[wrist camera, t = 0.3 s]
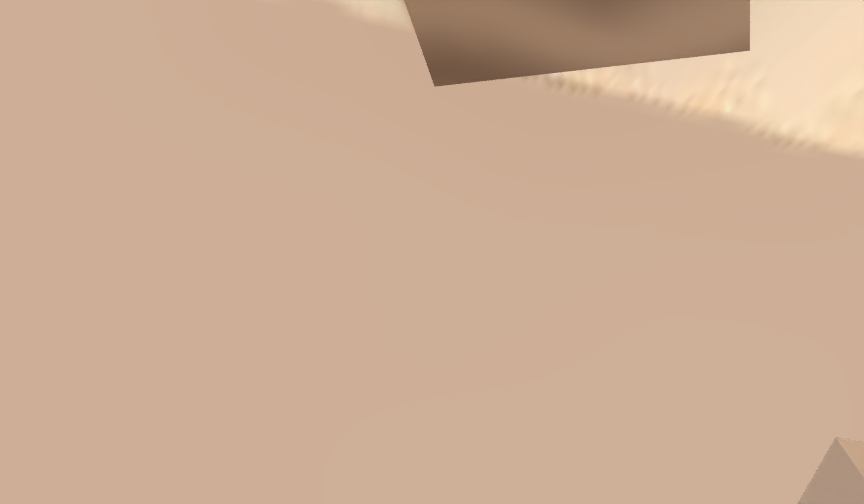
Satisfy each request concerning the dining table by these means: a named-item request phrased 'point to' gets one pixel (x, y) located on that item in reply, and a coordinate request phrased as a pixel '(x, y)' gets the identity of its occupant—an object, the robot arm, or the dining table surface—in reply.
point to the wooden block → (569, 34)
